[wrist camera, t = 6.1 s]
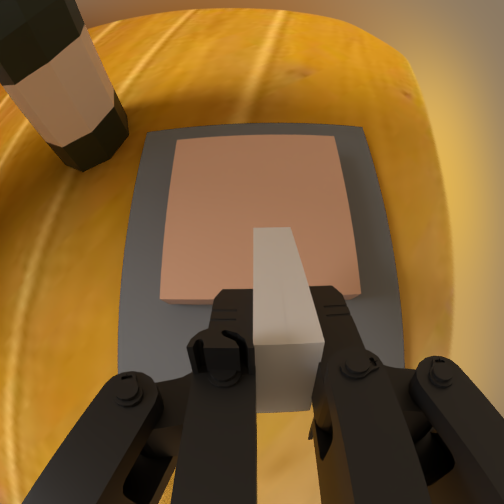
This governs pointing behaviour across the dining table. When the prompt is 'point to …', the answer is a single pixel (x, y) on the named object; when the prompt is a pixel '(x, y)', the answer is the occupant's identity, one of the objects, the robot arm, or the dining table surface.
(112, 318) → the dining table surface
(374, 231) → the mat
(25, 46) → the wine bottle
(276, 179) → the tile
